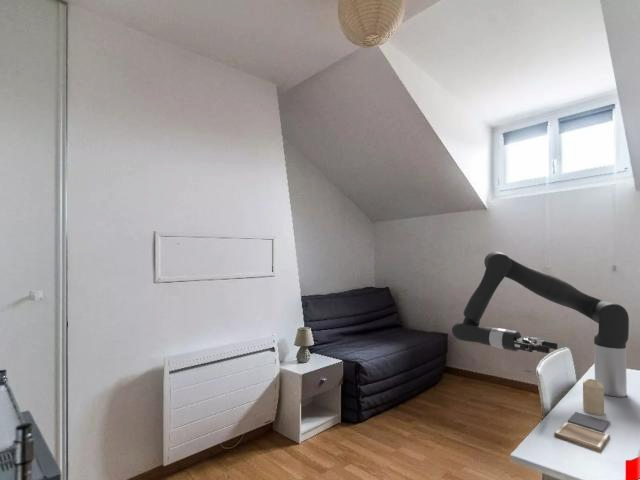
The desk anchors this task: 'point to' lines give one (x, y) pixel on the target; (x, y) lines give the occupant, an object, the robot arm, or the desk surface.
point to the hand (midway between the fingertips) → (553, 348)
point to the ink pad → (589, 422)
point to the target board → (582, 436)
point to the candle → (593, 397)
